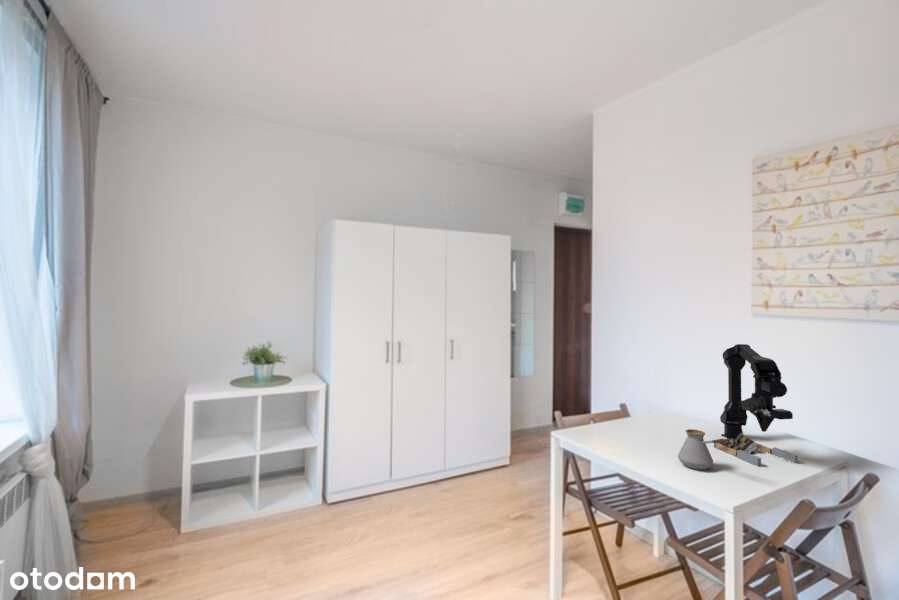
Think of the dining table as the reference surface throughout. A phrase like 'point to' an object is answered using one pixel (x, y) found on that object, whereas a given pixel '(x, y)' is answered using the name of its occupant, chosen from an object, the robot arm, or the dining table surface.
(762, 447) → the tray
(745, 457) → the bay
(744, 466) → the dining table surface
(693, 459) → the coffee pot
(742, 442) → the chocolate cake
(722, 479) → the dining table surface
